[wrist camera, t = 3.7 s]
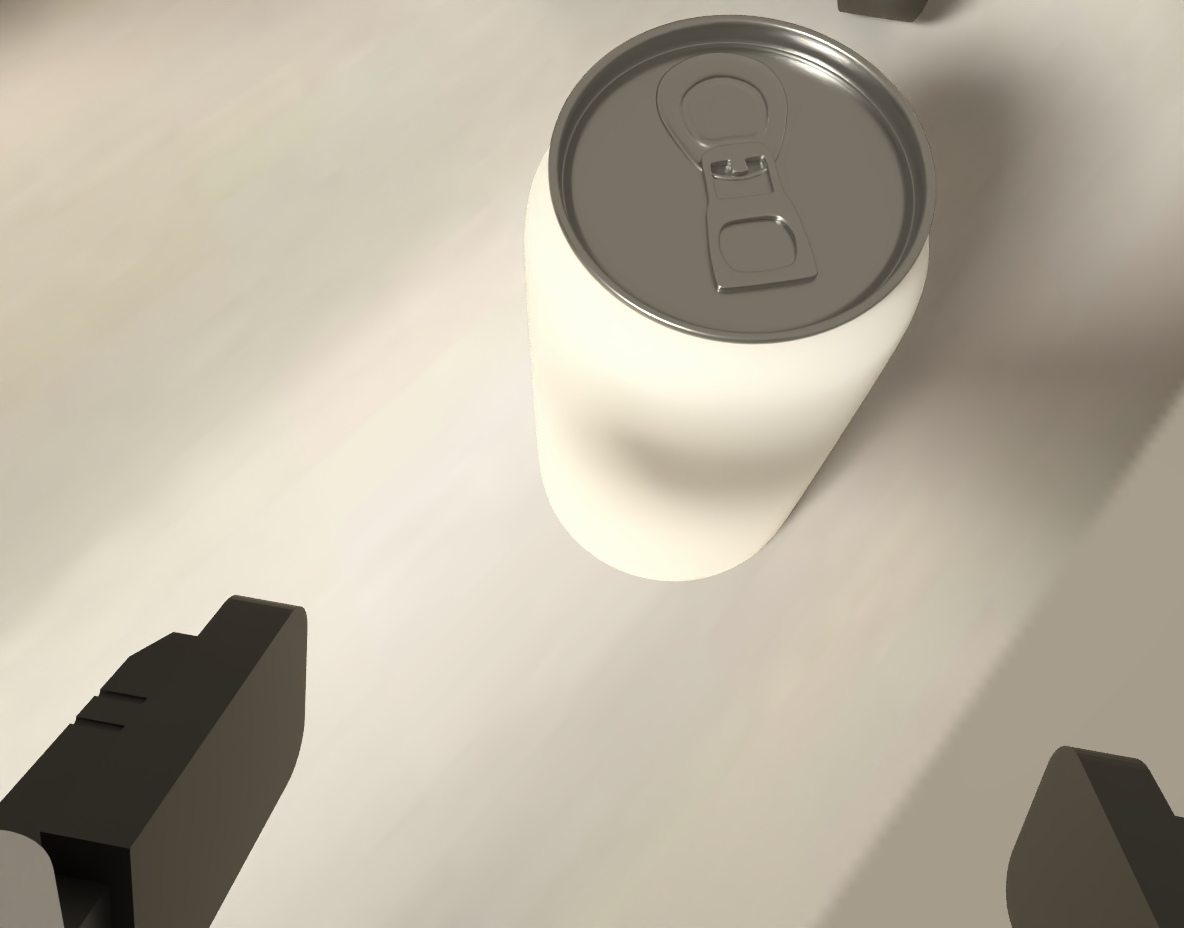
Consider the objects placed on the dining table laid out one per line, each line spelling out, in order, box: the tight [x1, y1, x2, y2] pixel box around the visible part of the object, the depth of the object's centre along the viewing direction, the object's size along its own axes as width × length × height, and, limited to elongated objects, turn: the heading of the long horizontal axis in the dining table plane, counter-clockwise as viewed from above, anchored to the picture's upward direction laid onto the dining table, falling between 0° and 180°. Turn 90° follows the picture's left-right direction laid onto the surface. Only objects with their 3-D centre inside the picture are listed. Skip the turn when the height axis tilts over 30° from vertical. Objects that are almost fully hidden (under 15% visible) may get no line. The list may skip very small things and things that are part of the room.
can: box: [524, 15, 936, 581], centre depth 21 cm, size 6×6×12 cm
